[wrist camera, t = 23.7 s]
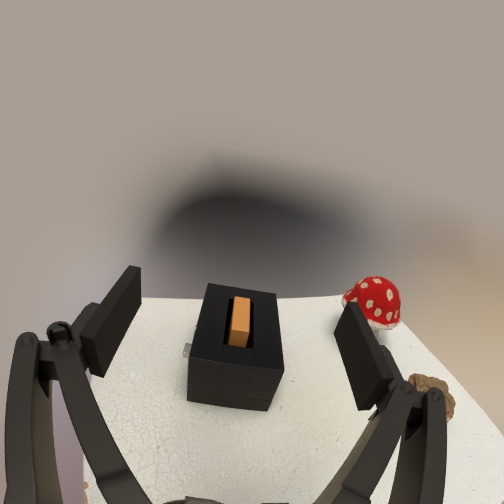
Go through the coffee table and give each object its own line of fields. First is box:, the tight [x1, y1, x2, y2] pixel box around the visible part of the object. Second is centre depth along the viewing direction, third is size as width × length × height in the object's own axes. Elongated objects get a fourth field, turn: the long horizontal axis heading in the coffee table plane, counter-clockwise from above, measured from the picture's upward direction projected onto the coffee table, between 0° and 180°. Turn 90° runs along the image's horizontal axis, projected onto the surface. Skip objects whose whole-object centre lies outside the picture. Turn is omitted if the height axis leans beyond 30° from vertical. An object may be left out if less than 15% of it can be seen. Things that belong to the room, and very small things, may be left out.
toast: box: [227, 296, 250, 347], centre depth 42 cm, size 2×8×8 cm, turn 0°
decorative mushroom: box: [342, 276, 401, 339], centre depth 53 cm, size 14×14×15 cm
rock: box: [408, 374, 455, 423], centre depth 36 cm, size 13×11×5 cm
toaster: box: [183, 283, 284, 411], centre depth 43 cm, size 13×18×10 cm
